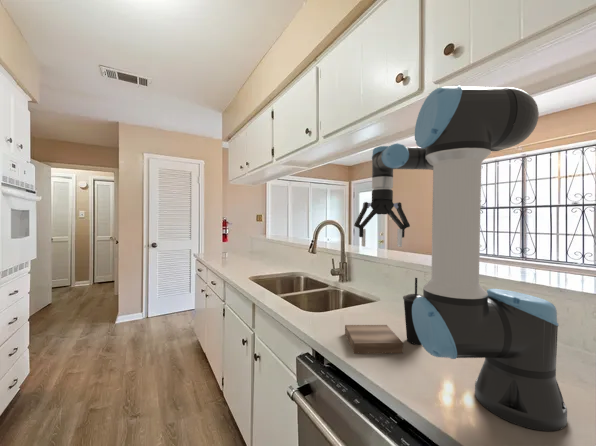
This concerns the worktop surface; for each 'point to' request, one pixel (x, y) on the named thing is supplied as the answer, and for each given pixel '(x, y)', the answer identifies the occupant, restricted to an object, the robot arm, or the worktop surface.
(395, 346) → the walnut riser
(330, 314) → the worktop surface
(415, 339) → the drinking cup
